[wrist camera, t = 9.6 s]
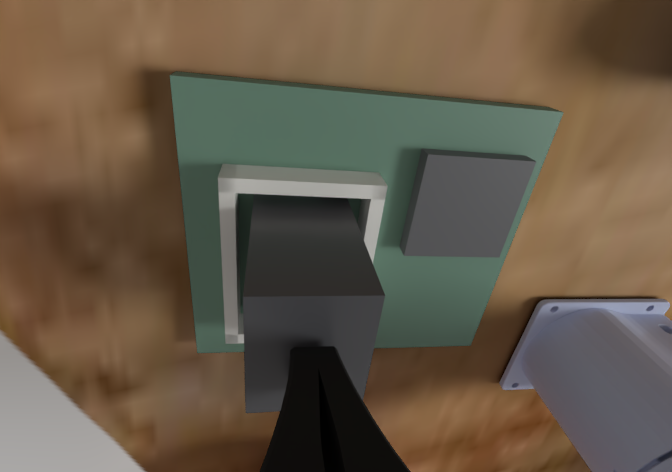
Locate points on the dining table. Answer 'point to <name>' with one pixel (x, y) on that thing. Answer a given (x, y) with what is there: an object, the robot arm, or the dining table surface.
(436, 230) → the board
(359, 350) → the plug
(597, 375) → the robot arm
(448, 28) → the dining table surface
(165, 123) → the dining table surface
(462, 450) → the dining table surface
